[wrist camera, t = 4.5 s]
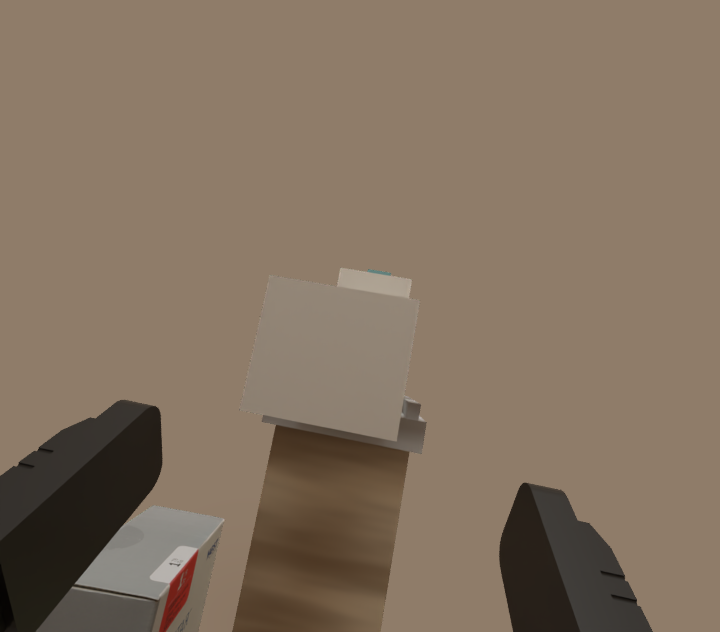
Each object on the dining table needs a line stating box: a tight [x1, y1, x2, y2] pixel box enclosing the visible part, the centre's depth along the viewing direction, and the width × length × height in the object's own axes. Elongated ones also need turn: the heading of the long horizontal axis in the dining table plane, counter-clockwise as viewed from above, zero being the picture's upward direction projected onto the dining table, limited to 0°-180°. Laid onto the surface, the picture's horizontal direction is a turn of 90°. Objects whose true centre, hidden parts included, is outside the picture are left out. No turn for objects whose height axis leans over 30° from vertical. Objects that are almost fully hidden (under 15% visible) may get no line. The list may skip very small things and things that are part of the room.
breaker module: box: [239, 268, 420, 442], centre depth 22 cm, size 21×4×9 cm, turn 176°
